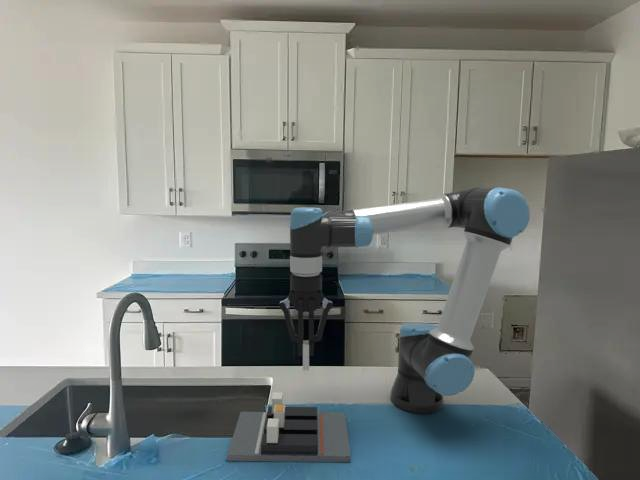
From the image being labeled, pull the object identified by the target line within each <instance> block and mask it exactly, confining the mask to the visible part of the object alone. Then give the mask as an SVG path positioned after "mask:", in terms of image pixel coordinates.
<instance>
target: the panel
mask: <svg viewBox="0 0 640 480" xmlns="http://www.w3.org/2000/svg"><path fill="white" fill-rule="evenodd" d="M238 416H239V417H238V420H237V423H236V425H235V426H236V427H235V429H234V433H233V435H232V438H231V442H230V445H229V449H228V451H227V454H226V455H227V458H226V461H227V462H283V463H284V462H287V463H288V462H291V463H292V462H294V463H296V462H299V463H304V462H305V463H306V462H307V463H308V462H309V463H351V459H352V455H351V446H350V439H349V435H348V434H349V433H348V427H347V425H348V424H347V418H346V413H345V412H318V407H317V406H285V423H284V428H279V437H278V443H267V423H268V418H270V419H274V414H272V405H271V406H268V408H267V411H240V412H239V415H238Z"/></svg>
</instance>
